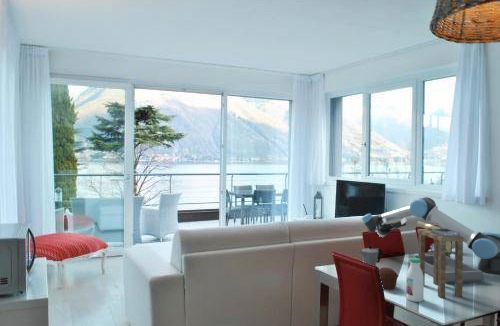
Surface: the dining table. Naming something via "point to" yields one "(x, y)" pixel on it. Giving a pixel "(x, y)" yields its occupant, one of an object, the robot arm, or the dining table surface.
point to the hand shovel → (439, 230)
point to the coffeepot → (371, 255)
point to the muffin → (388, 278)
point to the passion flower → (433, 250)
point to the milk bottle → (414, 281)
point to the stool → (442, 260)
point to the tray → (453, 270)
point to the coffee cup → (449, 246)
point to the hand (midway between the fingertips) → (396, 219)
